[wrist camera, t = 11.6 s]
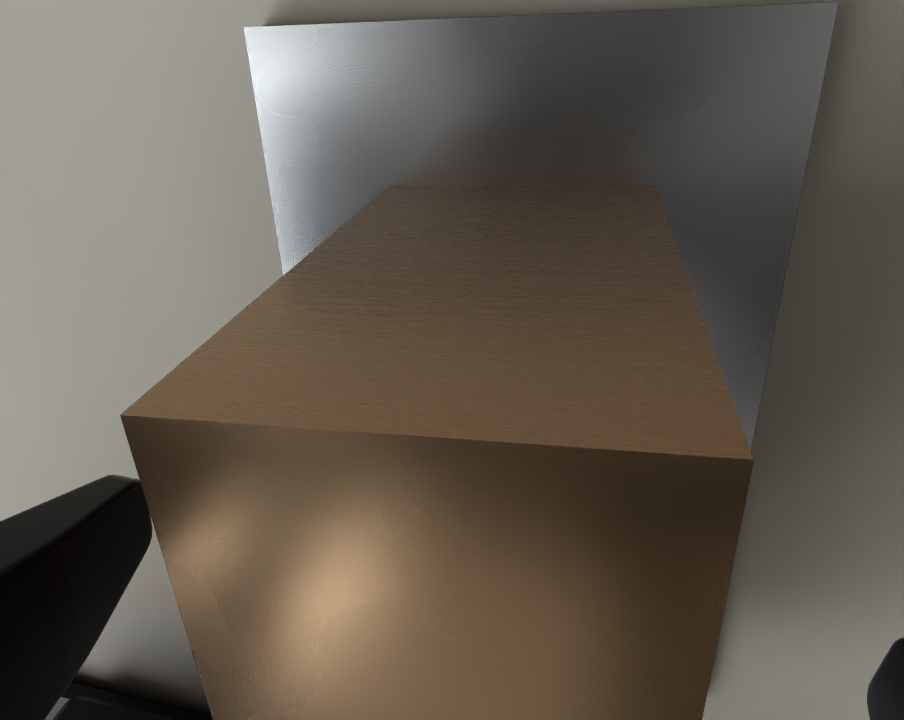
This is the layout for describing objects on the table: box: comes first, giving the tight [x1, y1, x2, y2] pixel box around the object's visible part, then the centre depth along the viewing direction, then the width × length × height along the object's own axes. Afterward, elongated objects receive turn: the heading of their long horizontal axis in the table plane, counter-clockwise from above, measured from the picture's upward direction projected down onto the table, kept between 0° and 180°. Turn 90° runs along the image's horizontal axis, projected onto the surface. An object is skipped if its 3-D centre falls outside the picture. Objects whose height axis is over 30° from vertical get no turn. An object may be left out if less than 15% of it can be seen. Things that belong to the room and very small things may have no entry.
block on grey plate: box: [120, 2, 839, 720], centre depth 8 cm, size 12×7×7 cm, turn 2°
